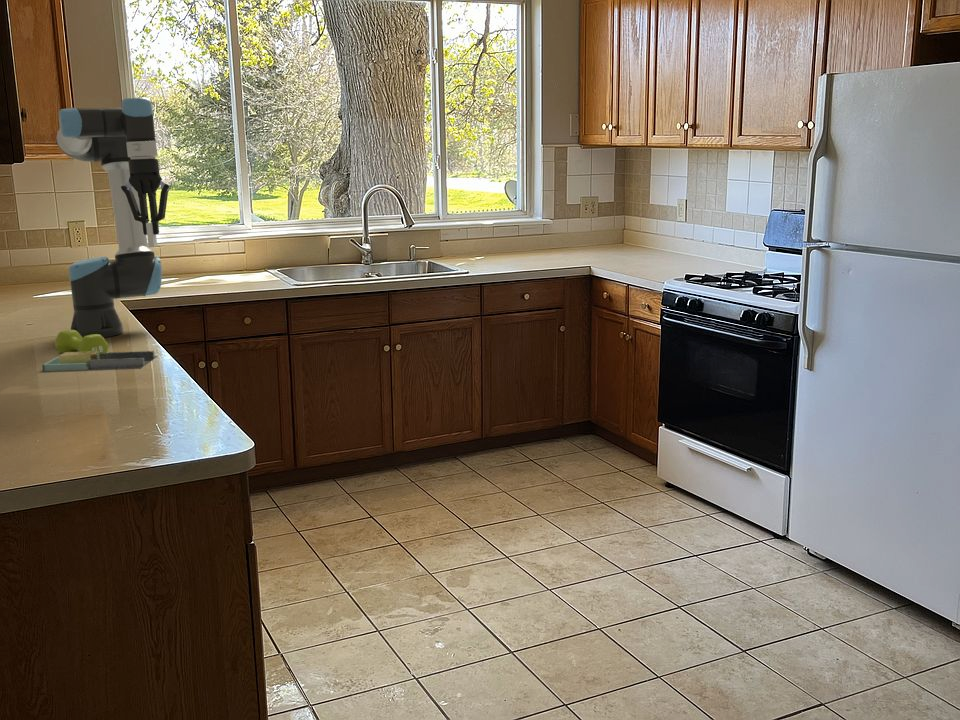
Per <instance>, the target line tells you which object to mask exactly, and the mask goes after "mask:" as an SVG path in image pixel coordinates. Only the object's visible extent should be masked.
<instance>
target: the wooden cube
mask: <svg viewBox="0 0 960 720" xmlns="http://www.w3.org/2000/svg"><path fill="white" fill-rule="evenodd" d="M78 352H79V351H78ZM96 359H97V354H96V351H87V352H79V353H77V354H76V355H75V363H87V367H88V362H87V361H88V360H96Z"/></svg>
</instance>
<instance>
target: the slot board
mask: <svg viewBox="0 0 960 720" xmlns="http://www.w3.org/2000/svg"><path fill="white" fill-rule="evenodd" d="M99 356H100V359H96V360H88V361H87V362H88V366H87V369H86V370H84V371H85V372H87V371H88V372H91V371H92V372H93V371H117V370H138V369H139V370H141V369H142V368H143V367H145V366H146V365H148V364H149V363H151V362H152V361H154V360H155V359H156V358H157V357H159V356H158V355H157V356H155V351H154V350H144V351H143V350H142V351H117V352H116V351H115V352H107V353H100V354H99Z"/></svg>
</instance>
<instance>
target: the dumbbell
mask: <svg viewBox="0 0 960 720" xmlns="http://www.w3.org/2000/svg"><path fill="white" fill-rule="evenodd" d="M54 348H55V349H56V351H58V353H59V354H63V353H65V352H87V351H96V354H100V353H108V351H109V344H108V342H107V340H106V339H105V337H102V336H101V335H99V334H92V335H87V336H84V337H83V338H82V336H81V335H80V334H79V333H78V332H77V331H76V330H70V329H66V330H62V331H60V332H58V334H57V336H56V337H55V341H54Z"/></svg>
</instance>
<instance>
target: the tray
mask: <svg viewBox="0 0 960 720" xmlns="http://www.w3.org/2000/svg"><path fill="white" fill-rule="evenodd" d="M97 359H100V356H99V354H97ZM41 367H42V368H41V369H42V372H52V371H53V372H55V371H57V372H58V371H59V372H60V371H83V370H84V371H85V370H86V369H88V366H87V363H74V364H60V363H59V355H57V357H55V358H53V359H51V360H49V361H47V362H45V363H43V364H41Z"/></svg>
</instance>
